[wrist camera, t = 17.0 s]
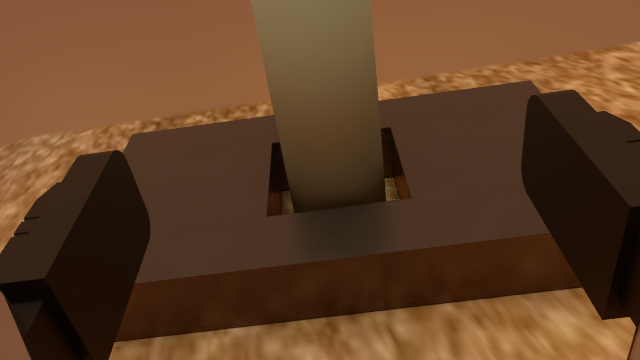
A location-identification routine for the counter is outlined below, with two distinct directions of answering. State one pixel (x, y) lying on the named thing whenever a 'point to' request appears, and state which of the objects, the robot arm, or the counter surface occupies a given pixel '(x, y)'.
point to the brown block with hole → (339, 221)
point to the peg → (324, 99)
